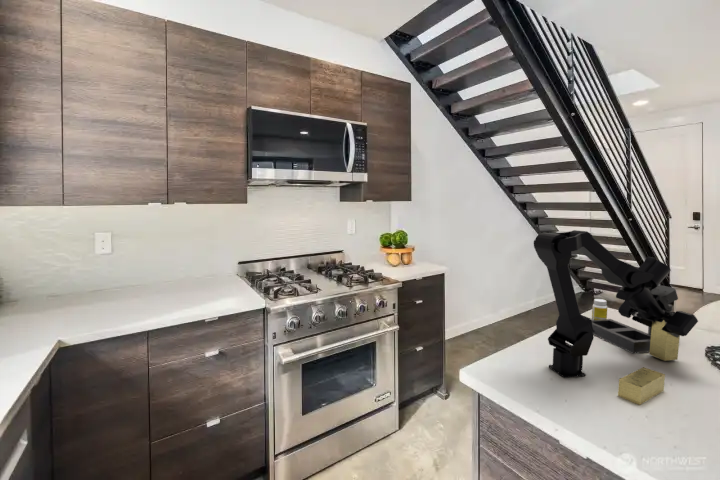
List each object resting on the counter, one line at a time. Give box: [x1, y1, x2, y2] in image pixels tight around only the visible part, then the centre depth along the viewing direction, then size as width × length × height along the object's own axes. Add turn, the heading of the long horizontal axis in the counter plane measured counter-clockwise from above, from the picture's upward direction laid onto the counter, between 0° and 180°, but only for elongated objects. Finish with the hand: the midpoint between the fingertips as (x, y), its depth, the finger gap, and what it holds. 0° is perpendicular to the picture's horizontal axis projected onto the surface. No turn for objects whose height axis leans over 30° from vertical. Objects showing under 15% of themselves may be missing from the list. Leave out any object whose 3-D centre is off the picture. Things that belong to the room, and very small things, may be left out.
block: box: [617, 366, 666, 406], centre depth 87 cm, size 12×4×4 cm, turn 119°
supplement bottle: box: [591, 298, 608, 320], centre depth 137 cm, size 5×5×8 cm
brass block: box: [648, 320, 681, 362], centre depth 105 cm, size 6×6×12 cm
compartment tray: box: [591, 318, 651, 354], centre depth 120 cm, size 10×20×4 cm, turn 8°
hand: (669, 333), depth 105 cm, fingers closed on brass block, 5 cm apart
